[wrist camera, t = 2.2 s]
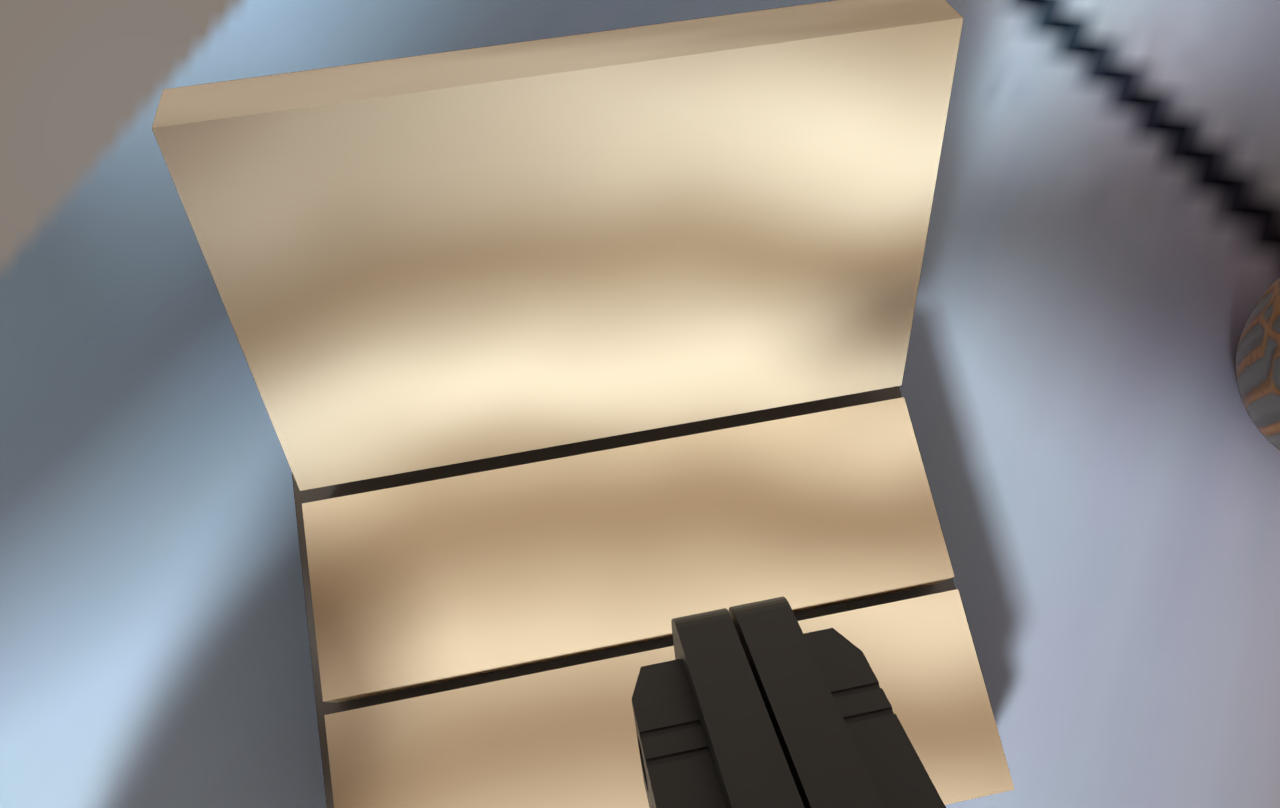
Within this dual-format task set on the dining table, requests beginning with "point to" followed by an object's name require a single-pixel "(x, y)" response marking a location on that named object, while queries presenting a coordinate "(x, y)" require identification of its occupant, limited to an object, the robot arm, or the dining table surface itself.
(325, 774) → the floor board
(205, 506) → the dining table surface
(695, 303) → the oak plank
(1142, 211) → the dining table surface
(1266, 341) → the vase
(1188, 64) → the dining table surface
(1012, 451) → the dining table surface
